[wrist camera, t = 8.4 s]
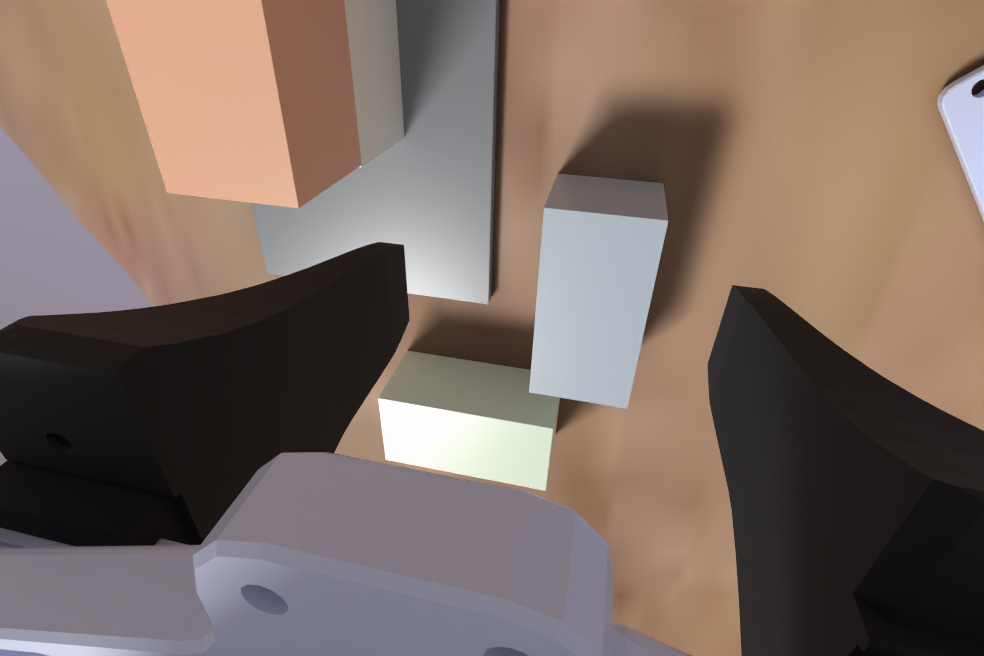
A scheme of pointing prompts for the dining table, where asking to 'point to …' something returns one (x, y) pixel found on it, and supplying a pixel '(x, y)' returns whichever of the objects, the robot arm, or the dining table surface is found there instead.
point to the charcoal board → (417, 165)
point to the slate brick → (595, 286)
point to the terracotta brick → (243, 95)
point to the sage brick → (468, 419)
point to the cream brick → (375, 74)
